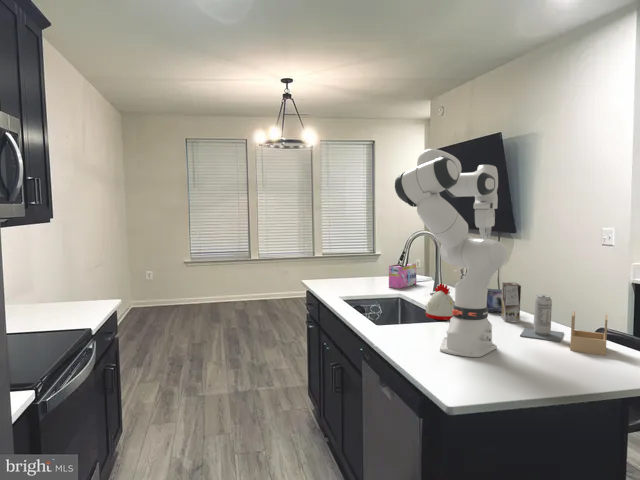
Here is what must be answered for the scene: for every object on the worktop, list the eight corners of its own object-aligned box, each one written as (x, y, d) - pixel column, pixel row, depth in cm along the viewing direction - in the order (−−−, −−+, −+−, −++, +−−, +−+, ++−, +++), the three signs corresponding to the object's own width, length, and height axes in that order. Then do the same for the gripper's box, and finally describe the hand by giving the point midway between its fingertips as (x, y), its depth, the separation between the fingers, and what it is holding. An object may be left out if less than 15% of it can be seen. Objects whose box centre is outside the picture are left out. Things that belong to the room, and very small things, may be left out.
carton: (605, 355, 157) (607, 320, 156) (570, 350, 162) (571, 316, 162) (605, 347, 166) (607, 314, 165) (572, 342, 171) (573, 310, 171)
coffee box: (520, 322, 202) (521, 285, 200) (504, 321, 203) (505, 285, 202) (515, 317, 210) (516, 282, 209) (500, 316, 212) (501, 281, 211)
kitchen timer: (441, 321, 203) (442, 287, 202) (419, 315, 215) (420, 283, 214) (463, 317, 211) (464, 284, 210) (440, 311, 222) (441, 280, 221)
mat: (560, 342, 172) (560, 340, 172) (519, 336, 180) (520, 335, 179) (563, 333, 184) (563, 332, 184) (525, 328, 191) (525, 327, 191)
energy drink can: (548, 332, 184) (549, 294, 183) (552, 336, 178) (553, 297, 177) (532, 331, 185) (533, 294, 184) (535, 335, 179) (536, 297, 178)
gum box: (406, 282, 307) (407, 262, 306) (417, 284, 302) (418, 263, 301) (388, 287, 289) (388, 265, 288) (399, 288, 284) (399, 266, 283)
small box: (482, 312, 221) (483, 290, 221) (483, 309, 227) (484, 288, 227) (506, 314, 217) (507, 292, 217) (506, 311, 223) (507, 289, 223)
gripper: (483, 204, 202) (482, 236, 203) (472, 204, 185) (471, 239, 186) (499, 204, 199) (498, 236, 200) (488, 204, 182) (487, 239, 183)
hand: (485, 238), depth 193 cm, fingers open, 8 cm apart
